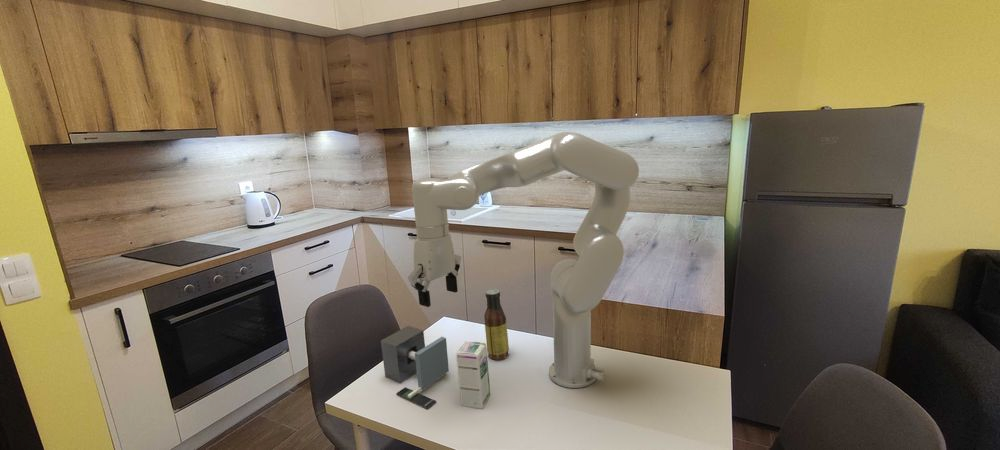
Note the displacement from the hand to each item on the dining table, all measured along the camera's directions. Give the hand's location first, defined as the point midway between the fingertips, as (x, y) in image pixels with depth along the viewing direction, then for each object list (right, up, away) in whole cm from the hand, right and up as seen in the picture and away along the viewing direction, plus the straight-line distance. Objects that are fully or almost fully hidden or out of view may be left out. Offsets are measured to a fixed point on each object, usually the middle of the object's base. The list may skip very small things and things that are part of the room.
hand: (439, 298), depth 109 cm
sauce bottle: (+14, -20, +20) cm, 32 cm away
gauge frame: (-7, -24, +9) cm, 26 cm away
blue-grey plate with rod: (-9, -23, +10) cm, 26 cm away
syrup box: (+9, -25, 0) cm, 27 cm away
